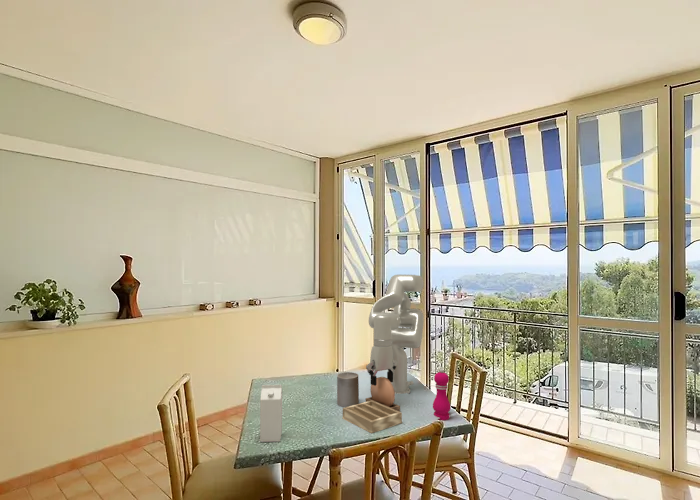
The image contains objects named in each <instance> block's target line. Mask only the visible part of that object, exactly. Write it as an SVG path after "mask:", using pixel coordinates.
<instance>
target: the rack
mask: <svg viewBox="0 0 700 500" xmlns="http://www.w3.org/2000/svg"><path fill="white" fill-rule="evenodd" d="M342 420H344V421H347V422H348V423H351V424H352V425H354V426H356V427H358V428H360V429H362V430H364V431H366V432H367V433H370V434H374V433H376V432H381V431H382V430H385V429H389V428H392V427H395V426H399V425H400V424H403V413H402V411H400V412H399V411H397V410H394V409H392V408H389V407H387V406H384V405H382V404H380V403H377V402H375V401H372V400H371V401H367V402H366V401H365V402H361V403H360V402H359V404H356V405H352V406H349V407H342Z"/></svg>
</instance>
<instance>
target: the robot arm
mask: <svg viewBox="0 0 700 500" xmlns="http://www.w3.org/2000/svg"><path fill="white" fill-rule="evenodd" d="M424 284H425V283H424V279H423V277H422V275H416V274H394V275H392V276H391V277H390V279H389V283H388V286H387V289H386V292H385V295H383V296H382V297H380V298H379V299H378V300H377V301H375V302H374V303H373V305H372V307H371V310H370V312H369V315H368V325H369V327H370V328H372V329H373V346H371V352H370V356H369V358H370V359H369V363H368V364H367V365H366V366H365V368H366V370H367V373H368V374H369V376H370V386H371V385H374V386H376V385H377V378H378V376H377V373H378V372H382V371H386V370H387V372H386V378H387V379H388V380H389V381H390V382H391V384H392V385H393V388H394V392H395V395H396V394H398V395H399V394H400V395H402V394H408V395H409V394H410V393H411V389H410V388H409V387H411V386H413V385H415V383H414V381H413V380H411V381H408V355H407V352H406V351H405V349H404V348H406V349H419V348H420V347H421V345H422V339H423V329H424V322H425V321H424V320H425V319H424V318H425V317H424V313H423V312H422V310H420V309H417V308H411V305H412V300H411V299H410V298H409V296H408V295H407V294H406V293H405V292H407V293H408V292H411V293H415V292H416V293H420V292H422V291H423V288H424V286H425V285H424ZM392 308H393V310H392V311H393V312H385V311H386V310H389V309H392ZM383 311H384V312H383Z"/></svg>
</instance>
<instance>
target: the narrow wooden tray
mask: <svg viewBox="0 0 700 500" xmlns="http://www.w3.org/2000/svg"><path fill="white" fill-rule="evenodd" d="M371 400H372V401H374V400H373V399H372V396H370V397H366V398H365V402H367V401H371ZM375 402H376V401H375ZM377 403H379V402H377ZM380 404H381V403H380ZM382 405H383V404H382ZM384 406H386V405H384ZM387 407H388V406H387ZM389 408H392V409H394V410H397V411H399V412H401V405H398V404H396V403H395V402H394V403H393V405H392V406H391V407H389Z"/></svg>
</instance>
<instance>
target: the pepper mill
mask: <svg viewBox="0 0 700 500" xmlns="http://www.w3.org/2000/svg"><path fill="white" fill-rule="evenodd" d="M433 379H434V382H435V389H436V396H435V397H434V400H433V403H432V409H433V411H434V412H433V415H434V417H436V418H437V420H439V421H448V420H450V413H449V412H450V411H451V403H450V400H449V397H448V394H447V390H448V386H449V385H448V383H449V381H450V377H449V375H448V374H447V373H445V371H444V369H443V368H440V369H439V372H436V373H435V374H434V377H433Z"/></svg>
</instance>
